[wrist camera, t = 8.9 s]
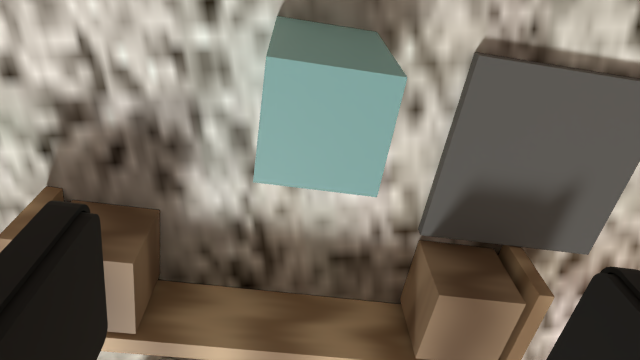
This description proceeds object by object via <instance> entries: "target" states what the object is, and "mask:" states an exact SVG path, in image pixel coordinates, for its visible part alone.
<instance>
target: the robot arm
mask: <svg viewBox="0 0 640 360" xmlns="http://www.w3.org/2000/svg"><path fill="white" fill-rule="evenodd" d="M107 329H108V320H107V306H106V292H105V279H104V265H103V251H102V237H101V224H100V217H99V215H98V214H93V213H90V209H89V207H88V206H87V205H86V204H80V203H71V202H63V201H55V200H53V201H49V202H48V203H46V204H45V205H44V207H43V208H42V209H41V210H40V211H39V212H38V213H37V214H36V215H35V216H34V217H33V218H32V219H31V220H30V221H29V223H28V224H27V225H26V226H25V227H24V228H23V229H22V230H21V231H20V232H19V233H18V234H17V235H16V236H15V237H14V239H13V240H12V241H11V242H10V243H9V244H8V245H7V246H6V247H5V248H4V249H3V250H2V251H1V252H0V360H97V357H98V355H99V353H100V351H101V349H102V347H103V345H104V342H105V339H106V335H107ZM546 360H640V271H639V270H635V269H626V268H618V267H606V268H605V269H603V270H602V271H601V272H600V273H598V274H596V275H595V276H594V277H593V278H592V280H591V281H590V283H589V285H588V287H587V288H586V290H585V292H584V294H583V296H582V297H581V299H580V301H579V303H578V304H577V306H576V308H575V310H574V312H573V313H572V315H571V317H570V319H569V320H568V322H567V324H566V326H565V328H564V329H563V331H562V333H561V335H560V336H559V338H558V340H557V342H556V343H555V345H554V347H553V349H552V351H551V352H550V354H549V356H548V358H547V359H546Z"/></svg>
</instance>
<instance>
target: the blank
mask: <svg viewBox="0 0 640 360" xmlns="http://www.w3.org/2000/svg"><path fill="white" fill-rule="evenodd" d="M406 81H407V76H406V75H405V73H404V72H403V70H402V69H401V67H400V66H399V64H398V63H397V61H396V60H395V58H394V57H393V55H392V54H391V52H390V51H389V49H388V48H387V46H386V45H385V43H384V42H383V40H382V39H381V37H380V36H379V34H378V33H377V32H374V31H368V30H361V29H355V28H349V27H343V26H336V25H330V24H324V23H317V22H311V21H305V20H299V19H292V18H286V17H280V16H277V19H276V22H275V26H274V30H273V33H272V37H271V41H270V44H269V48H268V52H267V56H266V64H265V74H264V83H263V93H262V103H261V112H260V122H259V132H258V141H257V151H256V161H255V170H254V180H253V182H256V183H264V184H273V185H281V186H289V187H297V188H306V189H314V190H322V191H330V192H338V193H347V194H355V195H363V196H371V197H377V195H378V191H379V187H380V183H381V179H382V175H383V171H384V167H385V163H386V159H387V155H388V151H389V147H390V144H391V140H392V136H393V132H394V128H395V124H396V120H397V116H398V112H399V108H400V104H401V100H402V96H403V92H404V88H405V85H406Z"/></svg>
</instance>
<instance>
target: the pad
mask: <svg viewBox="0 0 640 360" xmlns="http://www.w3.org/2000/svg"><path fill="white" fill-rule="evenodd" d="M639 162H640V79H637V78H631V77H625V76H619V75H613V74H606V73H600V72H594V71H588V70H582V69H576V68H569V67H563V66H557V65H551V64H545V63H539V62H532V61H526V60H520V59H514V58H508V57H502V56H495V55H489V54H483V53H477V52H475V53H474V57H473V60H472V63H471V66H470V69H469V72H468V75H467V78H466V82H465V85H464V88H463V91H462V94H461V97H460V100H459V103H458V106H457V110H456V113H455V116H454V119H453V122H452V125H451V128H450V131H449V135H448V138H447V141H446V144H445V147H444V150H443V153H442V156H441V160H440V163H439V166H438V169H437V172H436V175H435V178H434V181H433V185H432V188H431V191H430V194H429V197H428V200H427V203H426V206H425V210H424V213H423V216H422V219H421V222H420V225H419V228H418V229H419V232H420V235H424V236H432V237H441V238H449V239H458V240H467V241H475V242H484V243H492V244H501V245H509V246H518V247H527V248H535V249H544V250H552V251H561V252H569V253H578V254H587V255H588V254H589V252H590V251H591V249H592V247H593V245H594V243H595V241H596V240H597V238H598V236H599V234H600V232H601V231H602V229H603V227H604V225H605V223H606V221H607V220H608V218H609V216H610V214H611V212H612V211H613V209H614V207H615V205H616V203H617V201H618V200H619V198H620V196H621V194H622V192H623V191H624V189H625V187H626V185H627V183H628V182H629V180H630V178H631V176H632V174H633V172H634V171H635V169H636V167H637V165H638V163H639Z"/></svg>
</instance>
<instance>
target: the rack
mask: <svg viewBox="0 0 640 360" xmlns="http://www.w3.org/2000/svg"><path fill="white" fill-rule="evenodd" d="M53 200H55V201H63V202H64V199H63V190H62V188H54V187H45V188H44V189H43V190H42V191H41V192H40V193H39V195H38V196H37V197H36V198H35V199H34V200H33V201H32V202H31V203H30V204H29V205H28V206H27V207H26V208H25V209H24V210H23V211H22V212H21V213H20V214H19V215H18V216H17V217H16V218H15V219H14V220H13V221H12V222H11V223H10V225H9V226H8V227H7V228H6V229H5V230H4V231H3V232H2V233H1V234H0V252H1V251H2V250H3V249H4V248H5V247H6V246H7V245H8V244H9V243H10V242H11V241H12V240H13V239H14V237H15V236H16V235H17V234H18V233H19V232H20V231H21V230H22V229H23V228H24V227H25V226H26V225H27V224H28V223H29V221H30V220H31V219H32V218H33V217H34V216H35V215H36V214H37V213H38V212H39V211H40V210H41V209H42V208H43V207H44V205H45V204H46V203H48V202H49V201H53ZM71 203H80V204H86V205H87V206H88V207H89V209H90V213H93V214H98V215H99V217H100V224H101V237H102V251H103V265H104V279H105V292H106V306H107V320H108V329H107V335H106V339H105V342H104V345H103V347H102V349H101V351H107V352H119V353H131V354H143V355H155V356H167V357H179V358H191V359H204V360H521V359H522V357H523V355H524V353H525V351H526V350H527V348H528V346H529V344H530V342H531V340H532V338H533V337H534V335H535V333H536V331H537V329H538V327H539V325H540V323H541V322H542V320H543V318H544V316H545V314H546V312H547V310H548V309H549V307H550V305H551V303H552V301H553V299H554V295H553V294H552V292H551V291H550V289H549V288H548V286H547V285H546V283H545V282H544V280H543V279H542V277H541V276H540V274H539V273H538V271H537V270H536V268H535V267H534V265H533V264H532V262H531V261H530V259H529V258H528V256H527V255H526V253H525V252H524V250H523V249H522V247H518V246H509V245H503V246H502V248H501V251H500V253H499V255H497V254H496V252H495V250H494V249H492V248H484V247H475V246H466V245H458V244H449V243H440V242H432V241H423V240H419V242H418V245H417V248H416V251H415V254H414V257H413V260H412V263H411V266H410V270H409V273H408V276H407V279H406V282H405V285H404V288H403V291H402V294H401V297H400V300H401V304H393V303H383V302H373V301H363V300H353V299H343V298H333V297H323V296H313V295H303V294H293V293H283V292H273V291H263V290H253V289H243V288H233V287H223V286H213V285H203V284H192V283H182V282H172V281H162V280H158V278H159V275H160V210H154V209H146V208H137V207H128V206H120V205H111V204H102V203H94V202H85V201H76V200H72V201H71Z"/></svg>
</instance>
